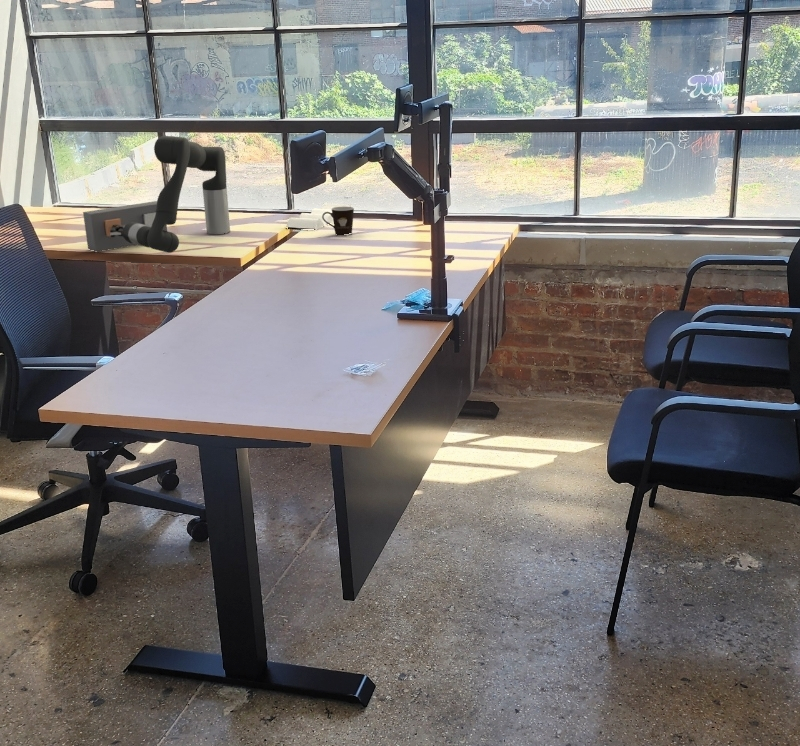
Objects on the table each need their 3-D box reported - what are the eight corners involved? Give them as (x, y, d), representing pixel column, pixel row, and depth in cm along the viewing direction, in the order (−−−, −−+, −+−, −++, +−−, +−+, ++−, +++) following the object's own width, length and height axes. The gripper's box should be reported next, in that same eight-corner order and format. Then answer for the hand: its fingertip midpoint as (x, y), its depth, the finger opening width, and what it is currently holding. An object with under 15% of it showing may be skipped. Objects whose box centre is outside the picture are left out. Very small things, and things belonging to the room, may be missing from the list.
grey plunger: (132, 225, 352) (130, 211, 350) (145, 223, 355) (143, 209, 353) (145, 229, 345) (144, 214, 343) (158, 226, 349) (157, 212, 347)
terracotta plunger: (95, 232, 340) (93, 217, 338) (109, 230, 344) (107, 215, 342) (108, 236, 334) (106, 221, 332) (122, 234, 337) (120, 218, 335)
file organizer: (285, 230, 369) (284, 218, 367) (323, 214, 399) (323, 203, 398) (314, 232, 364) (313, 219, 363) (351, 216, 395) (350, 204, 393)
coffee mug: (358, 232, 360) (357, 207, 356) (348, 237, 353) (347, 211, 349) (332, 230, 364) (331, 205, 361) (321, 234, 357) (320, 209, 354)
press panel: (88, 249, 339) (83, 212, 334) (160, 236, 358) (156, 201, 353) (95, 252, 335) (90, 214, 330) (168, 239, 354) (164, 202, 349)
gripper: (154, 220, 326) (129, 214, 338) (120, 226, 317) (96, 220, 329) (156, 241, 329) (132, 235, 340) (122, 247, 320) (99, 240, 332)
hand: (114, 227), depth 335 cm, fingers closed
